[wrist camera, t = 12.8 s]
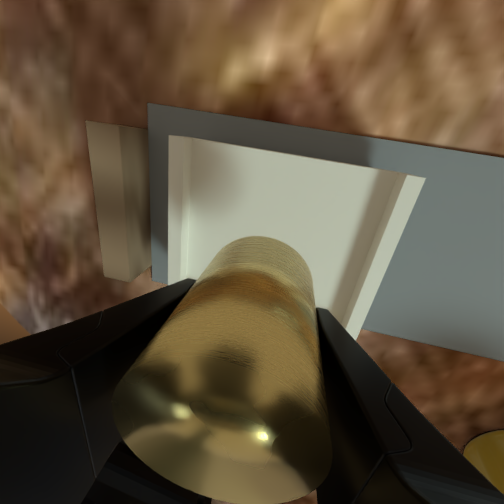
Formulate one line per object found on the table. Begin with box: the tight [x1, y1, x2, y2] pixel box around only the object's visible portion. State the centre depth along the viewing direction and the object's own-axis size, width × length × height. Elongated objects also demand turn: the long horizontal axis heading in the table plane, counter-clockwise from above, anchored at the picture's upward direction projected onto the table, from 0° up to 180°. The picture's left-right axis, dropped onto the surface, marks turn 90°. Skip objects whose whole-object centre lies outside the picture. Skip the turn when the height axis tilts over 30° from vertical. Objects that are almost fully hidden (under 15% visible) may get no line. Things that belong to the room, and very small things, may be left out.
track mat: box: [147, 103, 504, 361], centre depth 16 cm, size 13×29×1 cm, turn 81°
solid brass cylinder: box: [112, 236, 333, 504], centre depth 7 cm, size 4×4×6 cm
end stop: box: [85, 120, 152, 282], centre depth 17 cm, size 10×2×3 cm, turn 171°
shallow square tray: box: [168, 135, 426, 341], centre depth 15 cm, size 10×12×4 cm
